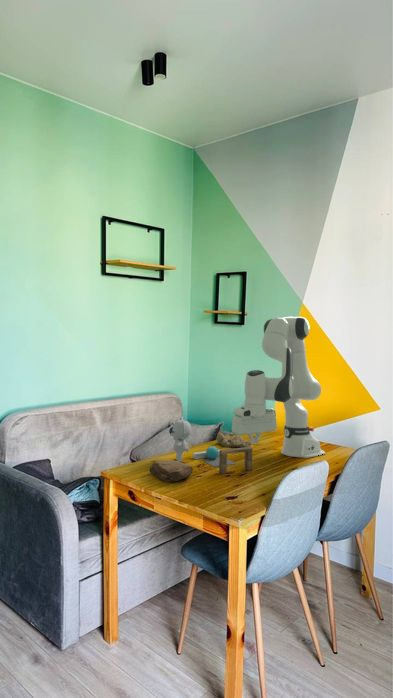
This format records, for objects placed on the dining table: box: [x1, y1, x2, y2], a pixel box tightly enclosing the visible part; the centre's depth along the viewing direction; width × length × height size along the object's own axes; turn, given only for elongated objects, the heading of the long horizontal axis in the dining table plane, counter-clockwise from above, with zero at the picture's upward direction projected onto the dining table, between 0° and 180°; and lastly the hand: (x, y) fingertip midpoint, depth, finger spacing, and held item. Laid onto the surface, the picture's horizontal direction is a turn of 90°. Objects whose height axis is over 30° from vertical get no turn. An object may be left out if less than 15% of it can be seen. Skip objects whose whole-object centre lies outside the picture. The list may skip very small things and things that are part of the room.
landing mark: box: [201, 457, 237, 468], centre depth 221 cm, size 12×12×1 cm
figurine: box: [216, 431, 253, 449], centre depth 254 cm, size 12×8×20 cm
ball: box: [206, 446, 219, 459], centre depth 226 cm, size 6×6×6 cm
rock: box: [148, 459, 194, 483], centre depth 197 cm, size 20×7×15 cm
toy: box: [169, 416, 192, 462], centre depth 222 cm, size 17×10×20 cm, turn 5°
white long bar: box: [192, 449, 221, 460], centre depth 230 cm, size 16×2×2 cm, turn 116°
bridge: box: [218, 447, 253, 475], centre depth 207 cm, size 3×15×10 cm, turn 116°
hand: (254, 443), depth 195 cm, fingers closed
